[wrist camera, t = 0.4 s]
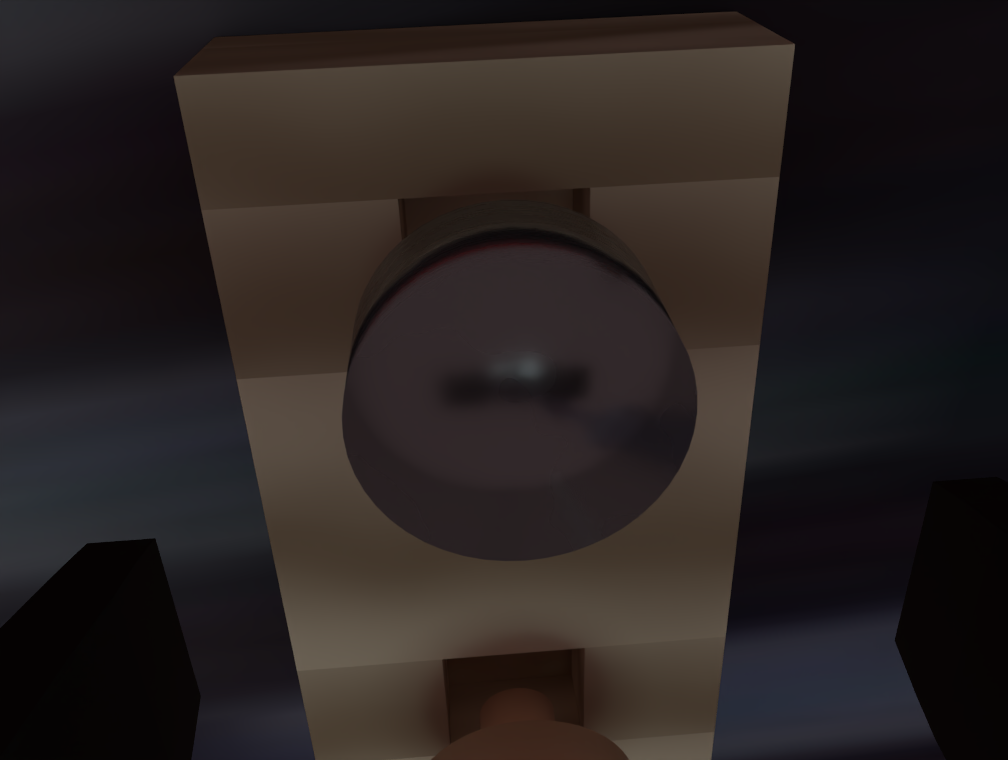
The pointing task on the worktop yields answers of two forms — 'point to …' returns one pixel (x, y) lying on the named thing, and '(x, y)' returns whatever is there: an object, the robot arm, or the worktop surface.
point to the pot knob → (528, 733)
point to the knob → (515, 384)
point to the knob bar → (332, 311)
